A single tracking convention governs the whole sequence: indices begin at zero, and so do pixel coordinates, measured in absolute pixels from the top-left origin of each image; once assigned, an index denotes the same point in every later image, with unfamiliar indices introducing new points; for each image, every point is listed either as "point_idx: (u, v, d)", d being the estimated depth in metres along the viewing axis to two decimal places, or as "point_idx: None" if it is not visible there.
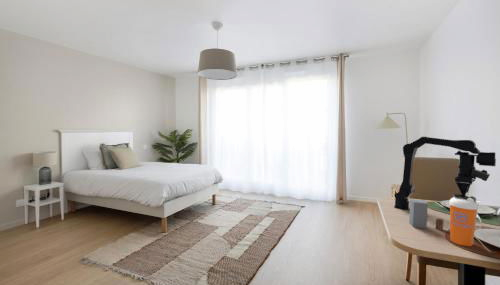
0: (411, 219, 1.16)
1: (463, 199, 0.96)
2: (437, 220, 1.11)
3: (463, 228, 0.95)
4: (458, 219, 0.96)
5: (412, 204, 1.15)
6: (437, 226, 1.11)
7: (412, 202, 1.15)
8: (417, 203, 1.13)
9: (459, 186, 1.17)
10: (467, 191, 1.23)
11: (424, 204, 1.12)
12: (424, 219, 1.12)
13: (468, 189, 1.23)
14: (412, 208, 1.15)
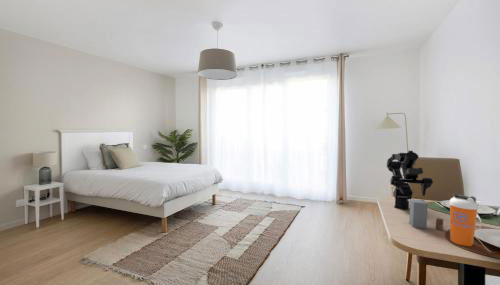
0: (411, 219, 1.16)
1: (463, 199, 0.96)
2: (437, 220, 1.11)
3: (463, 228, 0.95)
4: (458, 219, 0.96)
5: (412, 204, 1.15)
6: (437, 226, 1.11)
7: (412, 202, 1.15)
8: (417, 203, 1.13)
9: (398, 187, 1.28)
10: (423, 194, 1.21)
11: (424, 204, 1.12)
12: (424, 219, 1.12)
13: (423, 191, 1.21)
14: (412, 208, 1.15)
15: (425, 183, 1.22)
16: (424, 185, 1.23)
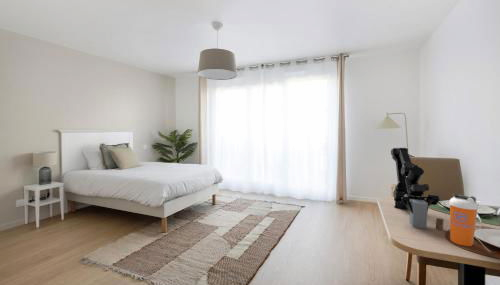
0: (411, 219, 1.16)
1: (463, 199, 0.96)
2: (437, 220, 1.11)
3: (463, 228, 0.95)
4: (458, 219, 0.96)
5: (412, 204, 1.15)
6: (437, 226, 1.11)
7: (412, 202, 1.15)
8: (417, 203, 1.13)
9: (406, 205, 1.19)
10: None
11: (424, 204, 1.12)
12: (424, 219, 1.12)
13: None
14: (412, 208, 1.15)
15: (427, 200, 1.15)
16: None
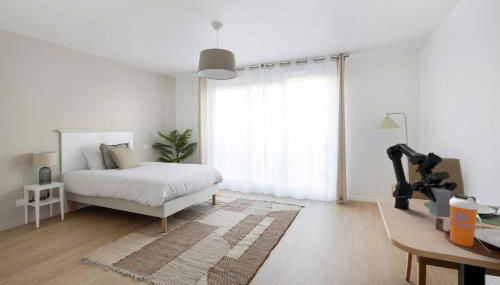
0: (433, 209, 1.11)
1: (463, 199, 0.96)
2: (437, 220, 1.11)
3: (463, 228, 0.95)
4: (458, 219, 0.96)
5: (435, 193, 1.10)
6: (437, 226, 1.11)
7: (435, 191, 1.10)
8: (441, 191, 1.08)
9: (425, 194, 1.14)
10: None
11: (448, 192, 1.08)
12: (448, 208, 1.08)
13: None
14: (435, 197, 1.10)
15: (447, 188, 1.12)
16: None
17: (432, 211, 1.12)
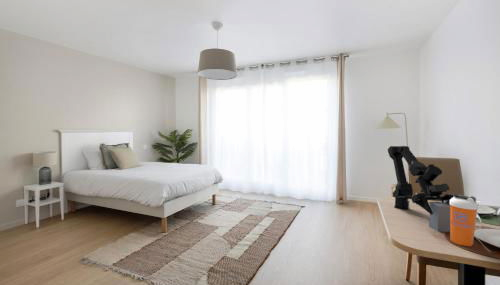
0: (434, 223, 1.11)
1: (463, 199, 0.96)
2: None
3: (463, 228, 0.95)
4: (458, 219, 0.96)
5: (435, 207, 1.10)
6: None
7: (435, 205, 1.10)
8: (442, 206, 1.08)
9: (422, 206, 1.14)
10: None
11: (448, 207, 1.08)
12: (448, 222, 1.08)
13: None
14: (435, 212, 1.10)
15: None
16: None
17: (432, 225, 1.12)
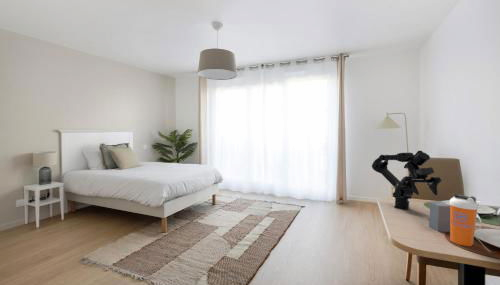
0: (434, 223, 1.11)
1: (463, 199, 0.96)
2: None
3: (463, 228, 0.95)
4: (458, 219, 0.96)
5: (435, 207, 1.10)
6: None
7: (435, 205, 1.10)
8: (442, 206, 1.08)
9: (410, 188, 1.27)
10: (435, 193, 1.22)
11: (448, 207, 1.08)
12: (448, 222, 1.08)
13: (435, 191, 1.22)
14: (435, 212, 1.10)
15: (435, 182, 1.24)
16: (434, 184, 1.24)
17: (432, 225, 1.12)
